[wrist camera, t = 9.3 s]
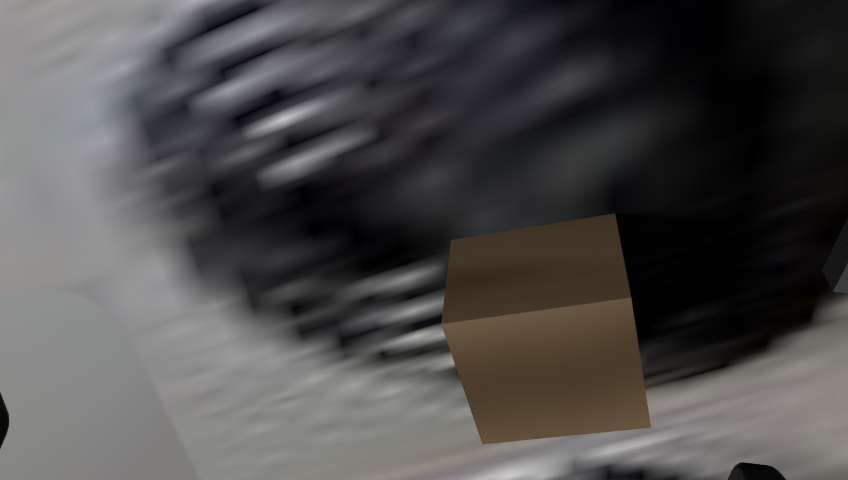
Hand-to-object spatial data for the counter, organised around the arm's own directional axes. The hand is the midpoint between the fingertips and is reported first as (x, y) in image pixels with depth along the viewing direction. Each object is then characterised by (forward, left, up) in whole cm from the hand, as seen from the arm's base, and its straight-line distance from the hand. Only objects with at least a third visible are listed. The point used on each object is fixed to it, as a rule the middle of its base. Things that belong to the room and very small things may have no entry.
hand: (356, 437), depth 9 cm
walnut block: (-8, -4, -13) cm, 16 cm away
